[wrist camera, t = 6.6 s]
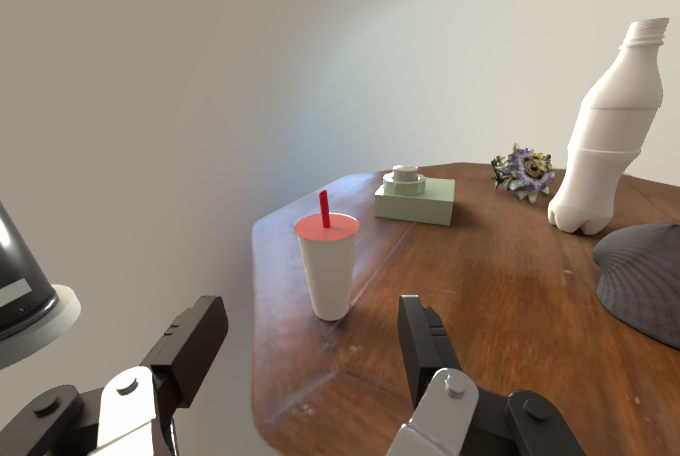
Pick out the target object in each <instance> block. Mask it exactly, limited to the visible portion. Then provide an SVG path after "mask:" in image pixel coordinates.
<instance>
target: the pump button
mask: <svg viewBox="0 0 680 456" xmlns="http://www.w3.org/2000/svg"><path fill="white" fill-rule="evenodd" d="M417 174H418V168H417V167H414V166H407V165H403V166H402V165H401V166H395V167H394V168H393V180H396V181H405V182H408V181H416V180H417Z"/></svg>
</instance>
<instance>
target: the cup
mask: <svg viewBox="0 0 680 456" xmlns="http://www.w3.org/2000/svg"><path fill="white" fill-rule="evenodd" d="M319 198H320V206H321V214H316V215H312V216H308V217H306V218H304V219H302V220H300V221H299V222H298V223H297V224H296V225H295V232H296V233H297V236H298V241H299V245H300V250H301V255H302V259H303V264H304V269H305V273H306V278H307V283H308V287H309V292H310V296H311V300H312V305H313V309H314V313H315V314H316V316H317V317H319V318H321V319H323V320H328V321H333V320H338V319H340V318H342V317H344V316H345V315H346V314H347V312H348V309H349V301H350V293H351V285H352V275H353V266H354V257H355V248H356V238H357V230H358V229H359V223H358V221H357V220H356V219H354V218H352V217H350V216H347V215H343V214H337V213H329V207H328V198H327V190H324V191H322V192H321V193H320V194H319Z"/></svg>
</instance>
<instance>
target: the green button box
mask: <svg viewBox="0 0 680 456" xmlns="http://www.w3.org/2000/svg"><path fill="white" fill-rule="evenodd" d="M454 188H455V180H445V179H431V178H426V177H424V176H423V175H420V174H417V180H416V181H408V182H405V181H396V180H393V173H391V174H387V175H385V176H384V178H383V186H382V187H381V188H380V189H379V190H378V191H377V193H376V194H375V217H383V218H391V219H399V220H407V221H415V222H423V223H431V224H439V225H447V226H450V221H451V214H452V208H453V202H454Z"/></svg>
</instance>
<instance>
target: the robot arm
mask: <svg viewBox="0 0 680 456" xmlns="http://www.w3.org/2000/svg"><path fill="white" fill-rule="evenodd" d="M58 300H59V296H58V294H57V293H56V291H55V289H54V288H53V287H51V285H50V283H49V282H48V280H47V278H46V277H45V275H44V273H43V272H42V270H41V268H40V266H39V265H38V263H37V261H36V260H35V258H34V257H33V255H32V253H31V251H30V250H29V248H28V246H27V245H26V243H25V241H24V240H23V238H22V236H21V235H20V233H19V231H18V229H17V228H16V226H15V225H14V223H13V221H12V220H11V218H10V216H9V215H8V213H7V211H6V209H5V208H4V206H3V204H2V203H1V201H0V341H2V340H4V339H7V338H9V337H11V336H13V335H15V334H17V333H19V332H21V331H23V330H24V329H26V328H28V327H30V326H31V325H33V324H34V323H36V322H37V321H39V320H40V319H42V318H43V317H44V316H46V315H47V314H48V313H49V312H50V311H51V310H52V309H53V308H54V307H55V306H56V304H57V302H58ZM227 332H228V319H227V315H226V311H225V308H224V304H223V300H222V298H221V297H220V296H201V297H200V298H199V300H198V301H197V302H196V304H195V305H194V306H193V308H188V309H186V310H185V311H184V312H183V313H181V314H180V315H179V316H178V317H177V318H176V319H175V320H174V321H173V323H172V324H171V325H170V328H168V329H167V330H166V332H165V333H164V336H162V337H161V338H160V339H159V341H158V342H157V343H156V344H155V346H154V347H153V348H152V350H151V351H150V352H149V354H148V355H147V356H146V357H145V358H144V360H143V361H142V362H141V364H140V365H139V366H138V367H134V368H131V369H128V370H126V371H124V372H122V373H121V374H119V375H117V376H116V377H115V378H114V379H112V380H111V381H110V382H109V383H108V384H107V386H106V387H104V388H100V389H96V390H92V391H89V392H85V393H82V394H79V393H78V391H77V390H76V388H75V387H74V386H72V385H62V386H58V387H55V388H53V389H50V390H48V391H46V392H44V393H43V394H41V395H39V396H38V397H36V398H35V399H33V400H32V401H31V402H30V403H29V404H28V405H26V406H25V408H23V409H22V410H21V411H20V412H19V413H18V415H16V417H14V419H13V420H12V421H11V422H10V423H9V424H8V425H7V426H6V427H5V428H4V429H3V430H2V431H1V432H0V456H44V455H45V456H179V452H178V445H177V438H176V432H175V425H174V420H173V418H172V416H173V414H174V412H175V410H176V409H177V408H189V407H190V405H191V403H192V401H193V399H194V397H195V395H196V393H197V392H198V390H199V388H200V386H201V384H202V382H203V380H204V378H205V376H206V374H207V372H208V370H209V368H210V366H211V364H212V362H213V361H214V358H215V357H216V355H217V353H218V351H219V349H220V347H221V345H222V343H223V341H224V339H225V337H226V335H227ZM398 335H399V340H400V345H401V350H402V355H403V359H404V364H405V369H406V374H407V379H408V383H409V388H410V393H411V398H412V402H413V407H414V414H413V415H412V417H411V419H410V421H409V422H408V423H407V422H405V423H404V424H403V425H402V426H401V428H400V430H399V431H398V433H397V435H396V437H395V439H394V440H393V442H392V444H391V446H390V448H389V449H388V451H387V453H386V455H385V456H462V455H463V456H586V455H585V453H584V451H583V450H582V448H581V446H580V445H579V443H578V442H577V440H576V438H575V437H574V435H573V433H572V432H571V430H570V428H569V427H568V425H567V424H566V422H565V420H564V419H563V417H562V415H561V414H560V412H559V411H558V409H557V408H556V407H555V406H554V405H553V404H552V403H551V402H550V401H548V400H547V399H546V398H544V397H543V396H541V395H539V394H537V393H535V392H532V391H529V390H516V391H514V392H512V393H511V394H510V396H509V397H506V396H503V395H500V394H496V393H493V392H490V391H487V390H484V389H482V388H480V387H478V386H477V385H475V383H474V382H473V380H472V379H471V378H470V377H469V376H467V375H466V374H465V373H463V371H462V369H461V367H460V364H459V362H458V360H457V357H456V355H455V352H454V350H453V347H452V345H451V343H450V340H449V338H448V337H447V333H446V331H445V328H444V326H443V323H442V321H441V319H440V316H439V315H438V314H437V313H436V312H435V311H434V310H433V309H432V308H431V307H422V305H421V303H420V300H419V297H418V295H400V299H399V311H398Z"/></svg>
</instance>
